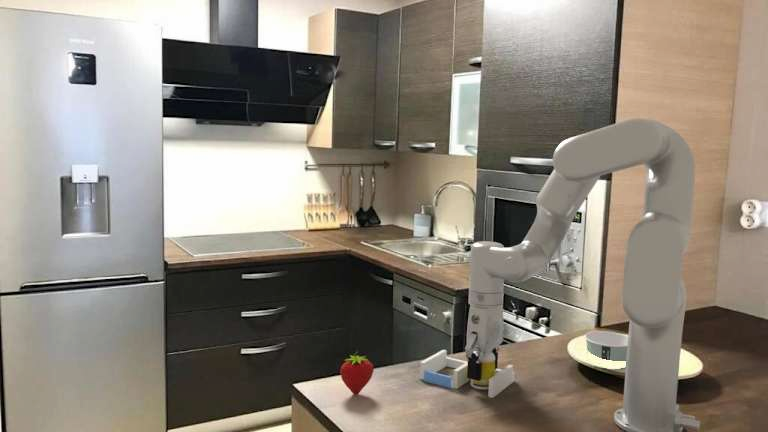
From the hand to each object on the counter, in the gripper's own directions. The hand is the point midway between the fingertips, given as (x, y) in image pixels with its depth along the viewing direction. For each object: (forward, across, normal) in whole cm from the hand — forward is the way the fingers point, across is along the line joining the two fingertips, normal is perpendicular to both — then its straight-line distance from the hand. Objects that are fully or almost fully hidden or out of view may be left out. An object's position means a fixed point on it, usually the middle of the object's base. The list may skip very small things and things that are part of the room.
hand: (482, 373), depth 145 cm
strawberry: (+3, -21, +20) cm, 29 cm away
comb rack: (+3, 0, +4) cm, 5 cm away
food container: (+3, +33, -19) cm, 38 cm away
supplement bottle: (+3, 0, 0) cm, 3 cm away
